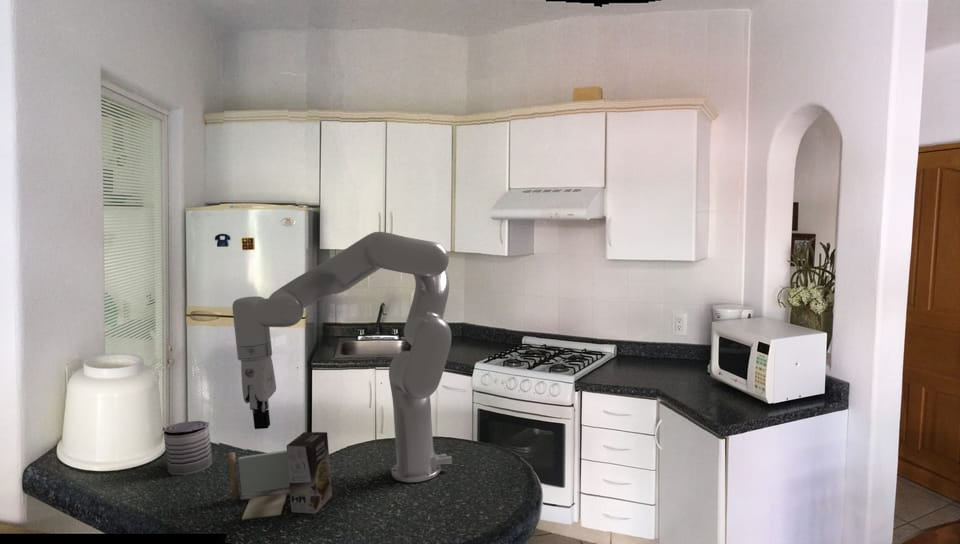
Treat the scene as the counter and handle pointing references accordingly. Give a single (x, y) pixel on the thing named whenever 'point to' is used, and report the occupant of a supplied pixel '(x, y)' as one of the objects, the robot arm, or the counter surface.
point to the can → (187, 447)
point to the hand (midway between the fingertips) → (262, 427)
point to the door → (263, 472)
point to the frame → (235, 483)
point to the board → (264, 506)
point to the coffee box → (309, 472)
